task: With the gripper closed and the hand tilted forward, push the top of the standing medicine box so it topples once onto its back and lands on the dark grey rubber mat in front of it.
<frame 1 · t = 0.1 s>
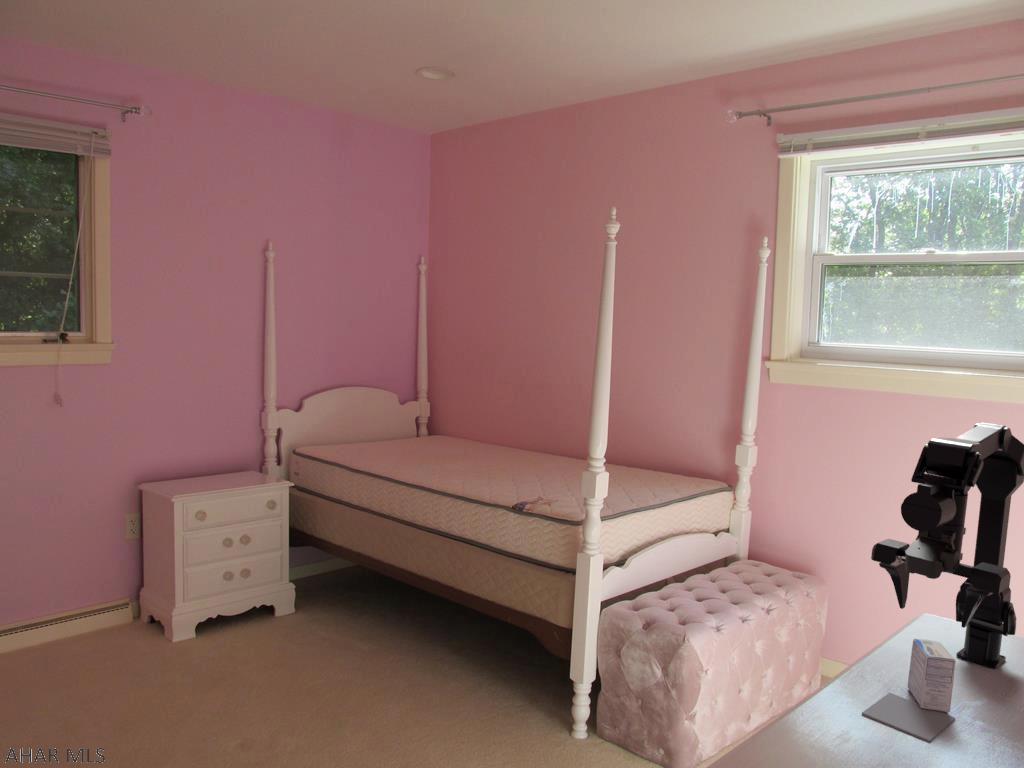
hand: (932, 617, 130), 15 cm above the table, tool pointing down, fingers open, 9 cm apart
medicine box: (927, 701, 133), on the table, touching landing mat
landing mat: (908, 716, 128), on the table
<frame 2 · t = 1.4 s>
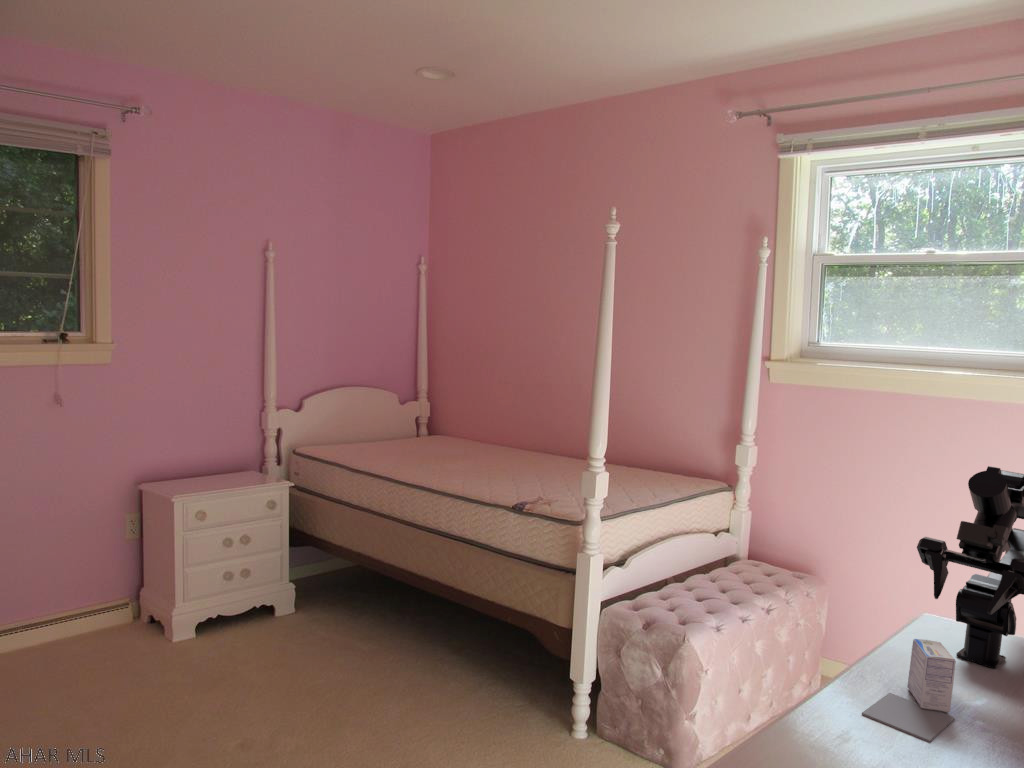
hand: (961, 605, 140), 13 cm above the table, tool tilted 45°, fingers open, 8 cm apart
nothing on the table moved.
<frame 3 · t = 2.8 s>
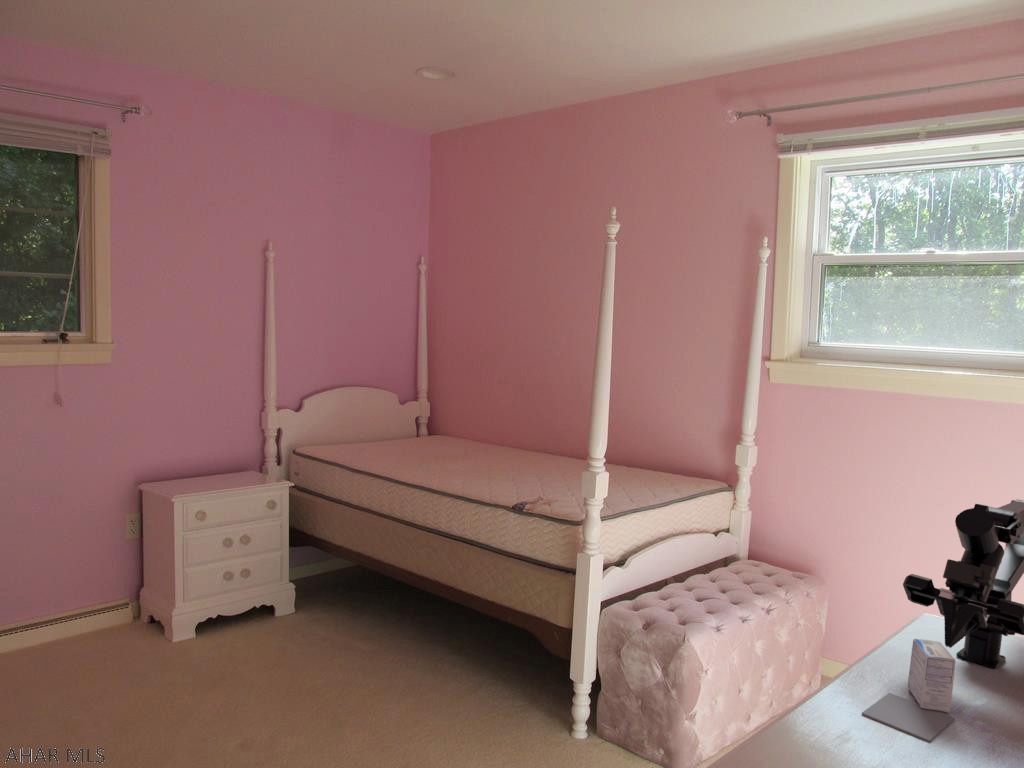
hand: (947, 645, 137), 8 cm above the table, tool tilted 45°, fingers closed
nothing on the table moved.
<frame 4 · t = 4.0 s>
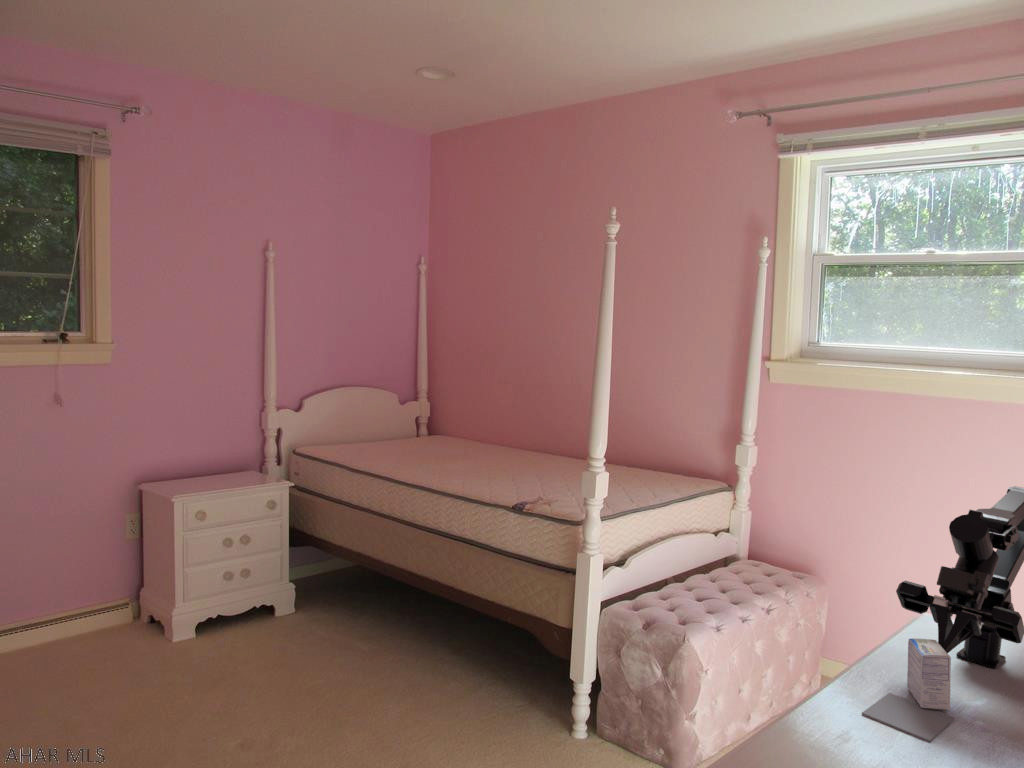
hand: (941, 653, 135), 7 cm above the table, tool tilted 45°, fingers closed
medicine box: (927, 700, 133), on the table, touching gripper, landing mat
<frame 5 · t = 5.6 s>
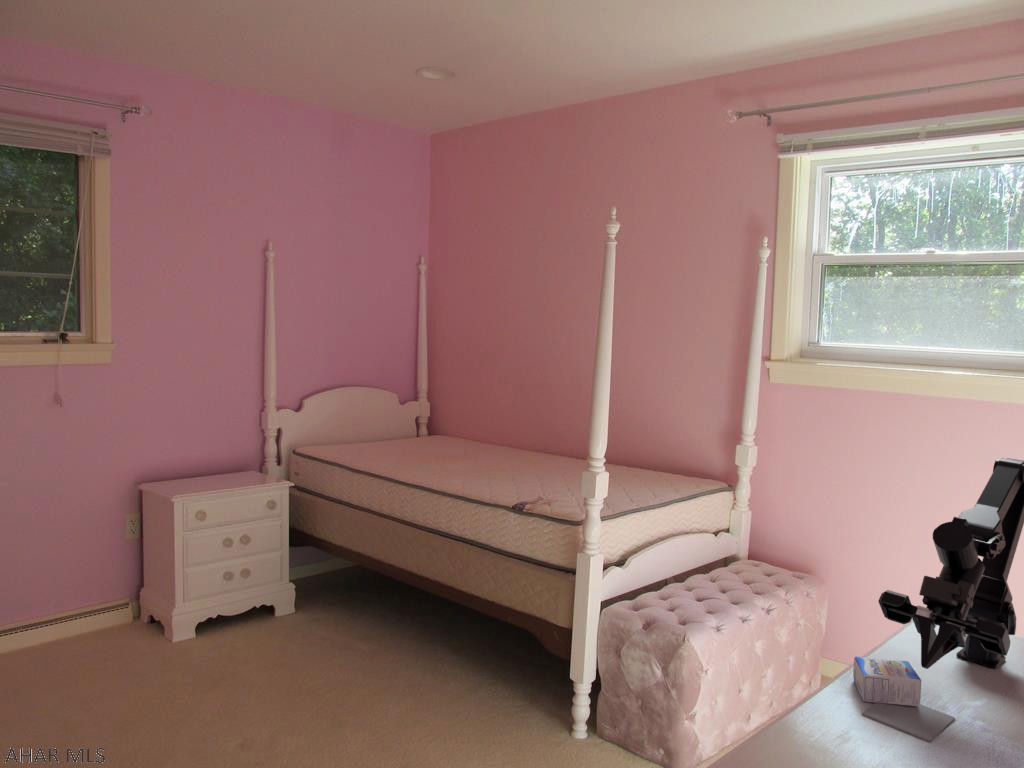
hand: (924, 666, 130), 7 cm above the table, tool tilted 45°, fingers closed
medicine box: (916, 683, 134), point 3 cm above the table, touching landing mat
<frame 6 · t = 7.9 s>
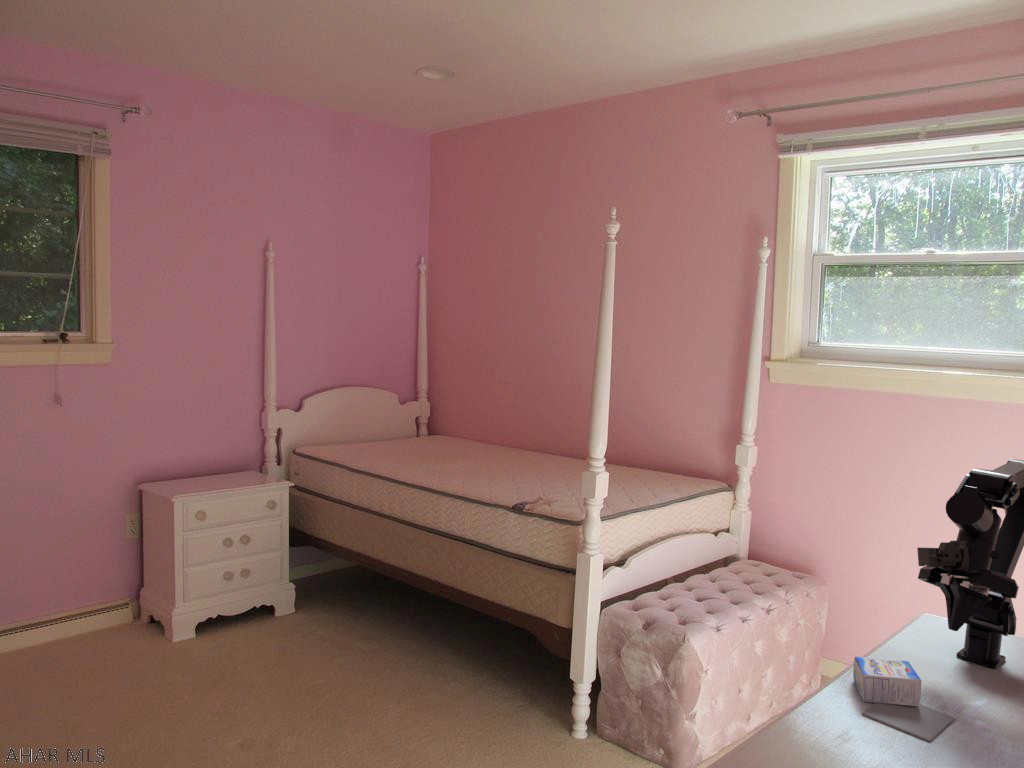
hand: (952, 630, 138), 10 cm above the table, tool tilted 25°, fingers closed
nothing on the table moved.
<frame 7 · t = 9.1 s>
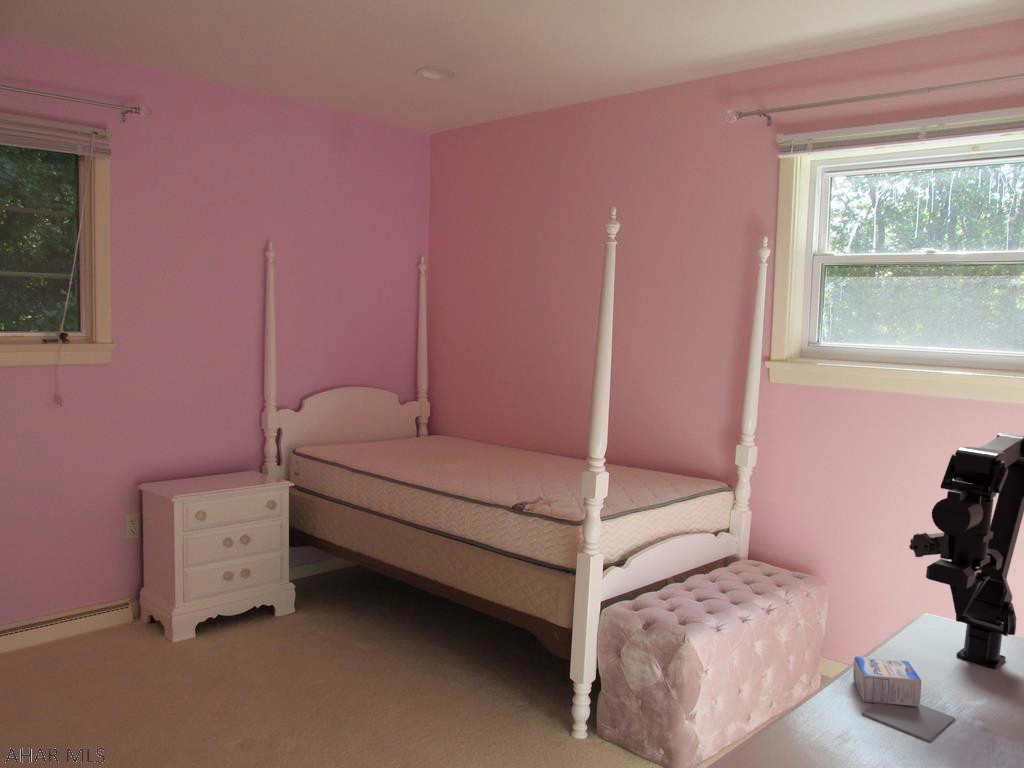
hand: (959, 614, 140), 12 cm above the table, tool pointing down, fingers closed
nothing on the table moved.
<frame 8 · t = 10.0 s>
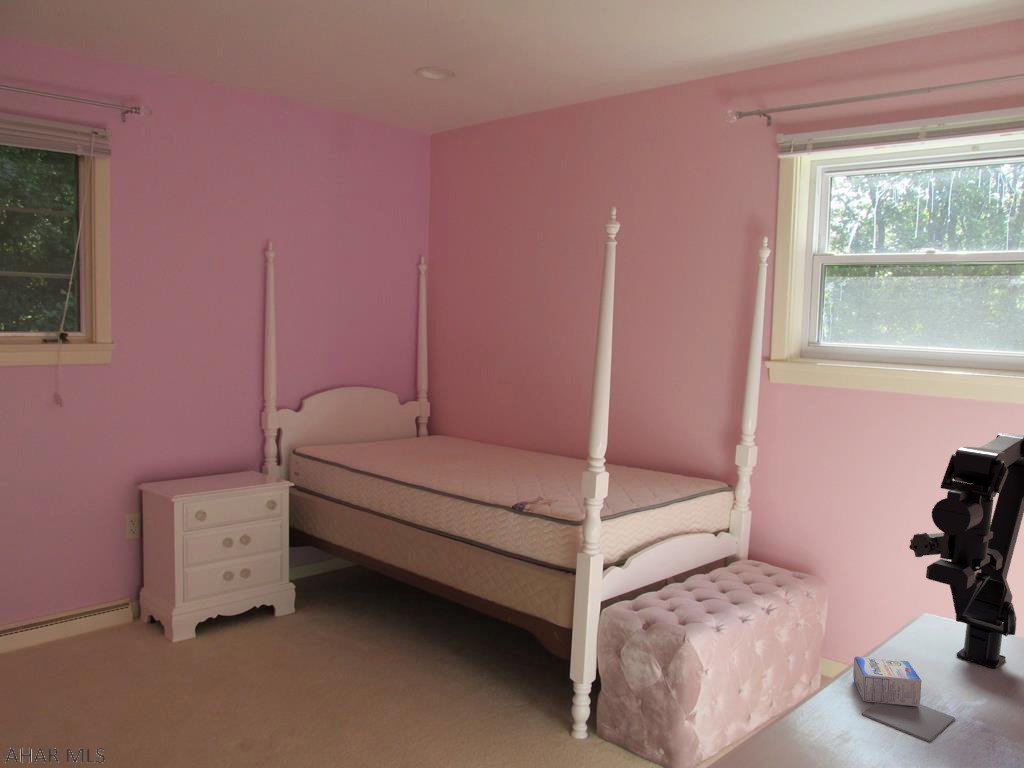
hand: (959, 614, 140), 12 cm above the table, tool pointing down, fingers closed
nothing on the table moved.
at the end: medicine box tilted 92°; medicine box touching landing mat, table; medicine box inside the target area (2.7 cm from its centre), point 2.6 cm above the table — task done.
